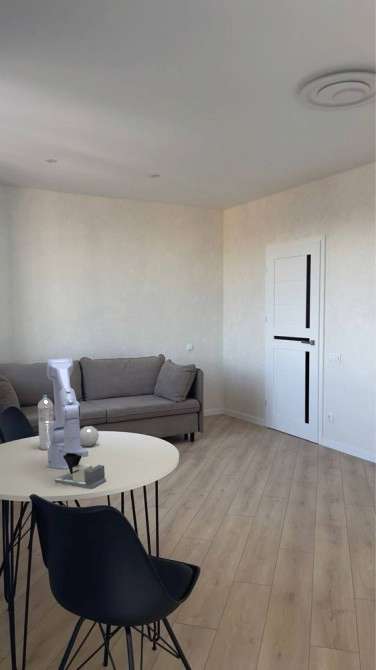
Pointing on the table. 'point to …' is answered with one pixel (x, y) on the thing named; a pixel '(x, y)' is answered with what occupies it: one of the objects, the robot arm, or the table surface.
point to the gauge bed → (69, 480)
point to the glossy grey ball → (88, 436)
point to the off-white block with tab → (80, 472)
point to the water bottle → (45, 421)
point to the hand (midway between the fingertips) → (73, 473)
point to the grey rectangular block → (94, 475)
